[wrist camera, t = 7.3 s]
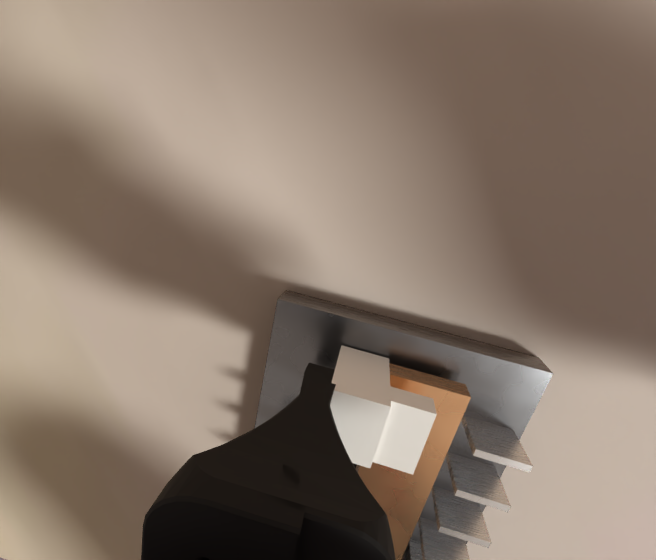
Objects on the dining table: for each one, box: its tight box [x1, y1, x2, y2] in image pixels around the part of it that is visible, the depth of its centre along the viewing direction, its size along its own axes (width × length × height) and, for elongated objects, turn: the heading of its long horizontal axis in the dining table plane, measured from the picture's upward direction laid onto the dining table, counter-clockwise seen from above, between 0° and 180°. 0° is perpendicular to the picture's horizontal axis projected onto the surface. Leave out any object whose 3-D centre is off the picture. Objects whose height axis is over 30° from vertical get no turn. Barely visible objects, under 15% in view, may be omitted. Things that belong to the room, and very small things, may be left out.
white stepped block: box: [330, 345, 437, 475], centre depth 12 cm, size 4×3×3 cm
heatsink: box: [255, 290, 553, 560], centre depth 14 cm, size 11×13×3 cm
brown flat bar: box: [356, 363, 471, 560], centre depth 14 cm, size 4×11×1 cm, turn 168°
